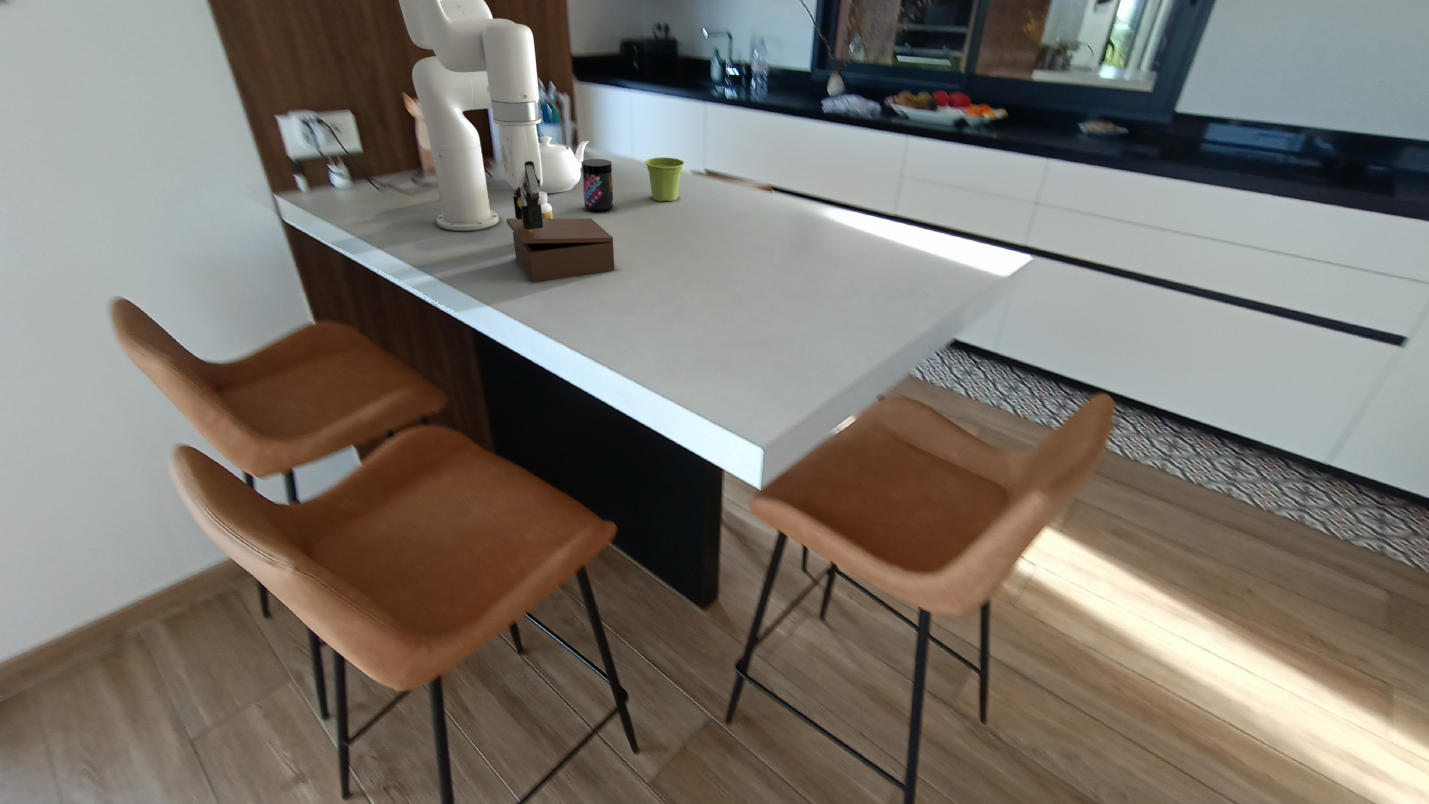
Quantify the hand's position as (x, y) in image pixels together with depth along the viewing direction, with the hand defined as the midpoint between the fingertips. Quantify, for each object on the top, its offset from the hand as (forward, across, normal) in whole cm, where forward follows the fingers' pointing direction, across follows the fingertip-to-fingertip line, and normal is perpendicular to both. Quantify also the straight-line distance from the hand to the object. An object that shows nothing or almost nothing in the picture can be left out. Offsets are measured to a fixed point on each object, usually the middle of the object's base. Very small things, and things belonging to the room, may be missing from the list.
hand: (529, 222), depth 116 cm
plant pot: (+9, -34, +41) cm, 54 cm away
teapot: (+9, -53, +18) cm, 56 cm away
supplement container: (+9, -31, +23) cm, 40 cm away
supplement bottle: (+9, -14, +5) cm, 17 cm away
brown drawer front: (+2, 0, +5) cm, 6 cm away
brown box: (+9, 0, +6) cm, 10 cm away
